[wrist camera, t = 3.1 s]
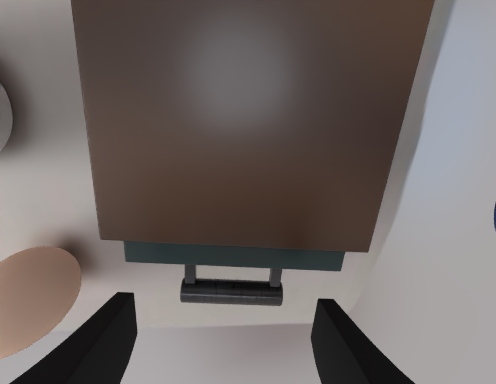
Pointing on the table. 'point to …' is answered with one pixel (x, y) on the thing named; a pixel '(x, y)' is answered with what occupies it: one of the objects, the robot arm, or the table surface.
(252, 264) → the drawer
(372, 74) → the cabinet
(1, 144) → the mug
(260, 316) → the table surface
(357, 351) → the robot arm
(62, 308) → the egg
